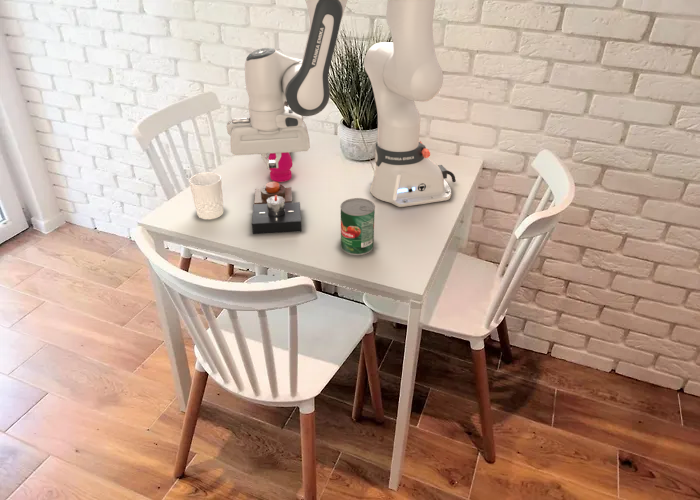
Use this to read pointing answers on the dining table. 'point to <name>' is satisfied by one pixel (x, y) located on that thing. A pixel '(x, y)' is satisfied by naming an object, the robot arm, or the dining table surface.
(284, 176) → the pepper mill
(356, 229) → the canned tomato
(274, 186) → the button
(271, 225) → the hob panel
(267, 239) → the dining table surface
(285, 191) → the button box
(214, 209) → the white cup
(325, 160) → the dining table surface
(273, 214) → the hob knob
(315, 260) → the dining table surface
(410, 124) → the robot arm
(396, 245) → the dining table surface
